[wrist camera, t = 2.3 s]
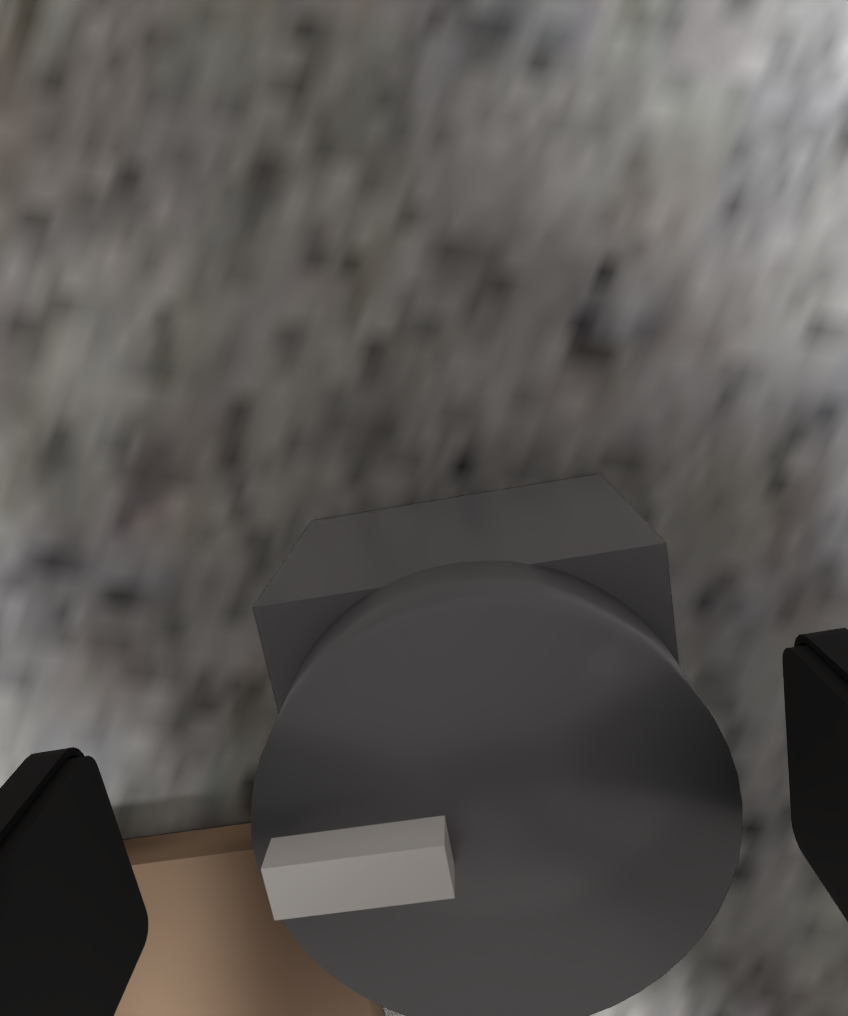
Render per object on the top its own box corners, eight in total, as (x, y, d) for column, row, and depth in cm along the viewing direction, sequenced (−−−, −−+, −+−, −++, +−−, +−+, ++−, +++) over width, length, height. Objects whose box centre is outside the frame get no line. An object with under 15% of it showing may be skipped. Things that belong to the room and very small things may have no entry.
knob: (608, 462, 16) (740, 584, 9) (642, 742, 17) (777, 1043, 10) (300, 513, 16) (182, 668, 9) (360, 781, 18) (298, 1093, 11)
